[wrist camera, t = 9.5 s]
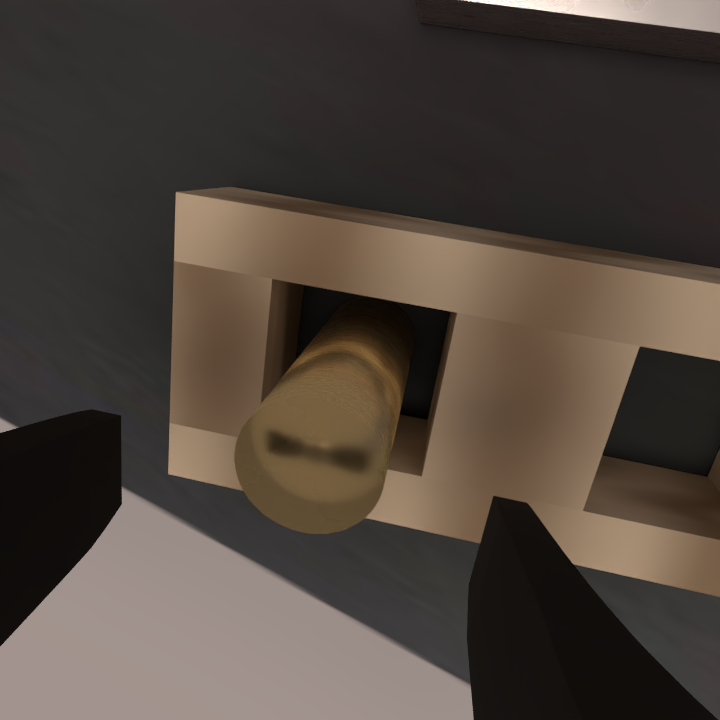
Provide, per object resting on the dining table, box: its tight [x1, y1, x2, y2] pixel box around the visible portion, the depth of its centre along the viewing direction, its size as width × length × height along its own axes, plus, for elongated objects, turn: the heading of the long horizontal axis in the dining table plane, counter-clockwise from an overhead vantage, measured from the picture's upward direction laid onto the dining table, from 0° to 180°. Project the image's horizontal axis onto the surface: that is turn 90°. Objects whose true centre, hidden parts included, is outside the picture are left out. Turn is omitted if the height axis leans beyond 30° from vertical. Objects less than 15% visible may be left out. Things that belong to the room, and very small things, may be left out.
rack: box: [168, 187, 720, 597], centre depth 17 cm, size 21×9×4 cm, turn 82°
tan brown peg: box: [234, 296, 415, 534], centre depth 16 cm, size 3×3×9 cm
